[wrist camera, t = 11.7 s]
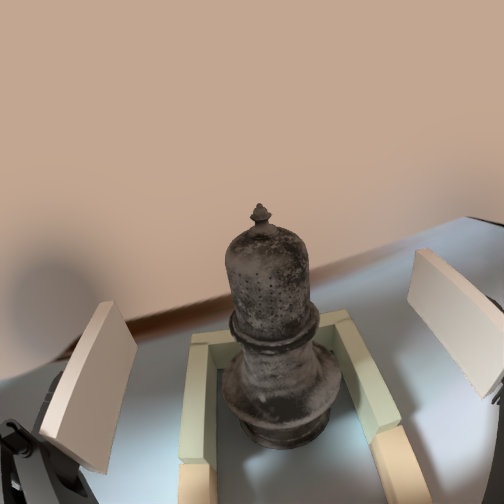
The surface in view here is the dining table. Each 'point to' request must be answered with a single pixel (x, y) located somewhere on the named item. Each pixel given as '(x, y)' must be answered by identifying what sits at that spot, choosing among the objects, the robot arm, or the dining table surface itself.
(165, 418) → the dining table surface
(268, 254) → the dark stone chess piece
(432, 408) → the dining table surface
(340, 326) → the socket
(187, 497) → the channel
